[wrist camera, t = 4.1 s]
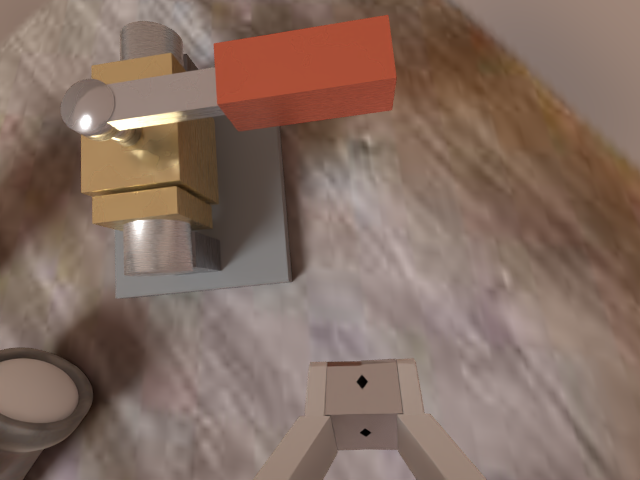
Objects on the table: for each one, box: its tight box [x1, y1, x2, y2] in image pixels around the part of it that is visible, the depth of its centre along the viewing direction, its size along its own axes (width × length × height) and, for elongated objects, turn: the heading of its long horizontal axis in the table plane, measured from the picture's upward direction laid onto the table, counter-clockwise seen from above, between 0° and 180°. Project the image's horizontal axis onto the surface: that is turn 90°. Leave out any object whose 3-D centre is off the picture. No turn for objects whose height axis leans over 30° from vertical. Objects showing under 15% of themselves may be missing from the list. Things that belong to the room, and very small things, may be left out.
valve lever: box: [61, 15, 397, 141], centre depth 19 cm, size 16×3×3 cm, turn 95°
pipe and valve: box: [81, 21, 222, 276], centre depth 26 cm, size 6×16×11 cm, turn 5°
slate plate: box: [115, 115, 292, 298], centre depth 32 cm, size 14×18×2 cm
